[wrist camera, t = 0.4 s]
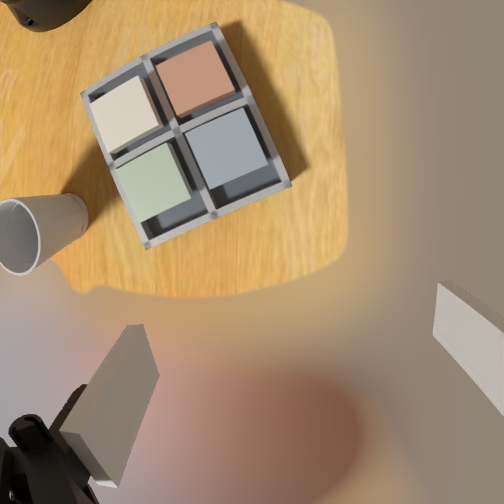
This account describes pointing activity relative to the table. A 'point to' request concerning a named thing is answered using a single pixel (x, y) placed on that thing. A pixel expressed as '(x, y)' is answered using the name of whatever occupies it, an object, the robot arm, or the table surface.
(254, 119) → the keypad base
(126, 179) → the key sage
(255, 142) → the key slate
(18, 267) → the cup
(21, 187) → the table surface
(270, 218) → the table surface
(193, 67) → the key terracotta
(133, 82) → the key cream
